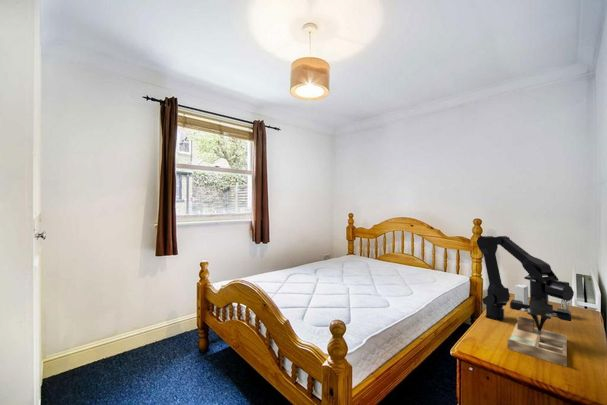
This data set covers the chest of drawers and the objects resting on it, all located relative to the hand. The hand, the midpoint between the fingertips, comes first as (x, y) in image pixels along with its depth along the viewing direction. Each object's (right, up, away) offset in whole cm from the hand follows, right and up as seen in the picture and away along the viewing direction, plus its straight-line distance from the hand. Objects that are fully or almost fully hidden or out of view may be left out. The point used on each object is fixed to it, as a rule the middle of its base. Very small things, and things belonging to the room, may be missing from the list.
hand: (539, 330), depth 110 cm
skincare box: (+18, -4, +31) cm, 36 cm away
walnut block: (-3, -1, +3) cm, 4 cm away
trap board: (-5, -3, -5) cm, 8 cm away
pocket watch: (+29, -4, +22) cm, 37 cm away
